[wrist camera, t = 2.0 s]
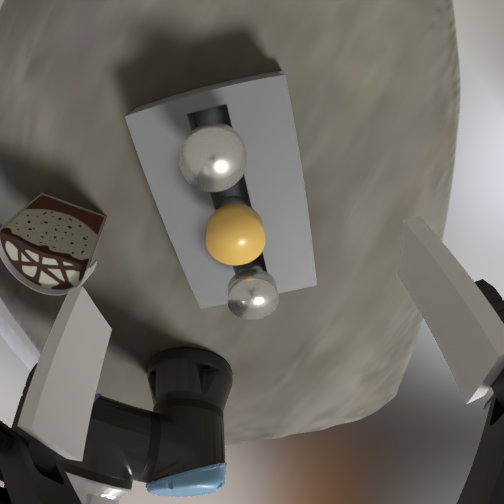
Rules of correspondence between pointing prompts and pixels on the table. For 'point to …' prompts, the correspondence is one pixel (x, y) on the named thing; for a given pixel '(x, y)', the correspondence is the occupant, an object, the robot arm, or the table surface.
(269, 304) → the knob
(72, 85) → the table surface
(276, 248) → the mount
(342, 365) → the table surface
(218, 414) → the robot arm
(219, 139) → the knob
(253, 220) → the yellow round knob
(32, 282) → the food container
